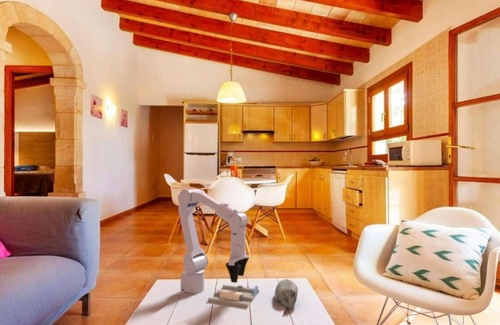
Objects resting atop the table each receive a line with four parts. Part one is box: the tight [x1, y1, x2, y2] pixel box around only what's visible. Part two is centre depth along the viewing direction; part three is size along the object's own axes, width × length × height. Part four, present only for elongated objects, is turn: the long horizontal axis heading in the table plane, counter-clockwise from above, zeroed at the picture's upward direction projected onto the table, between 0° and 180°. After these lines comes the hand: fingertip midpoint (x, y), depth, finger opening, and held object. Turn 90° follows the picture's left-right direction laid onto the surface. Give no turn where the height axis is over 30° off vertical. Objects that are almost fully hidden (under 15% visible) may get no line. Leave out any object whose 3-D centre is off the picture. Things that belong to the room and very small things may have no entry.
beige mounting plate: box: [206, 284, 260, 310], centre depth 120 cm, size 16×18×4 cm
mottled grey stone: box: [274, 278, 299, 310], centre depth 118 cm, size 14×10×10 cm
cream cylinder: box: [217, 289, 244, 302], centre depth 116 cm, size 10×4×4 cm, turn 72°
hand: (237, 278), depth 117 cm, fingers open, 7 cm apart
